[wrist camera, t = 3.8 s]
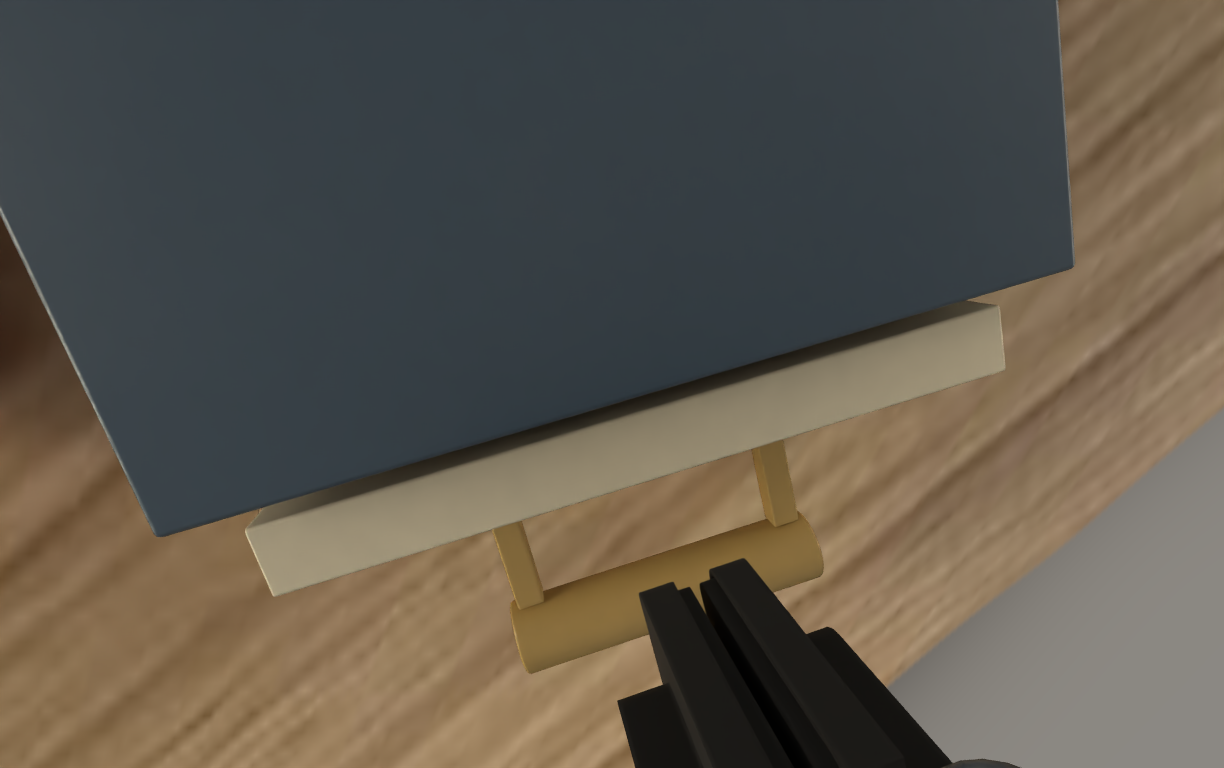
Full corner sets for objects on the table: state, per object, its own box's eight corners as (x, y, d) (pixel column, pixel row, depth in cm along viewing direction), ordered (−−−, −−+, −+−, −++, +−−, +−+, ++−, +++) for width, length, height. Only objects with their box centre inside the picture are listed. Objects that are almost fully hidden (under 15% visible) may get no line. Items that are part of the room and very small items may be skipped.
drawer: (830, 472, 20) (1031, 615, 13) (427, 600, 19) (382, 846, 11) (685, -343, 15) (882, -937, 7) (113, -244, 14) (-366, -845, 6)
